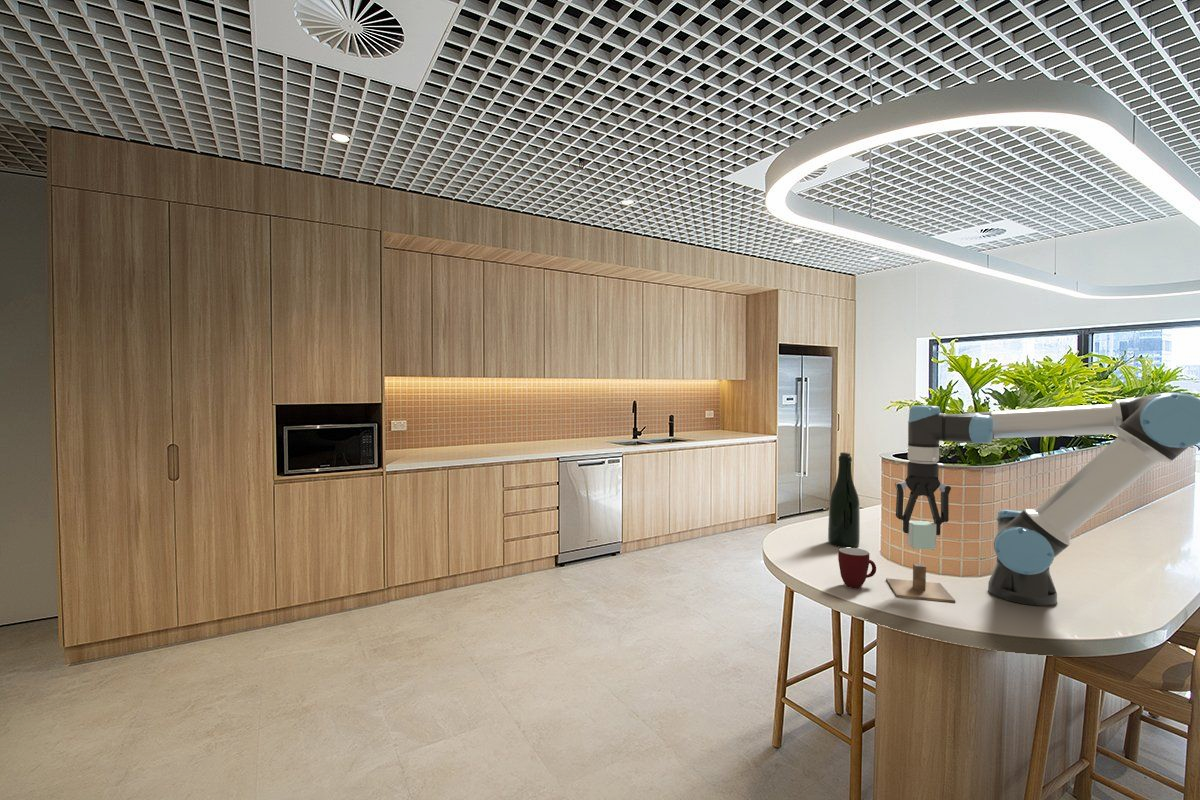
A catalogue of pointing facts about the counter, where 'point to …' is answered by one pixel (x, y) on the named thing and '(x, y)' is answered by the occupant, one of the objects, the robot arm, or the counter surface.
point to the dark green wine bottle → (844, 507)
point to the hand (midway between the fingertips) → (920, 545)
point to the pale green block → (923, 535)
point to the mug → (855, 566)
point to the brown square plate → (919, 587)
